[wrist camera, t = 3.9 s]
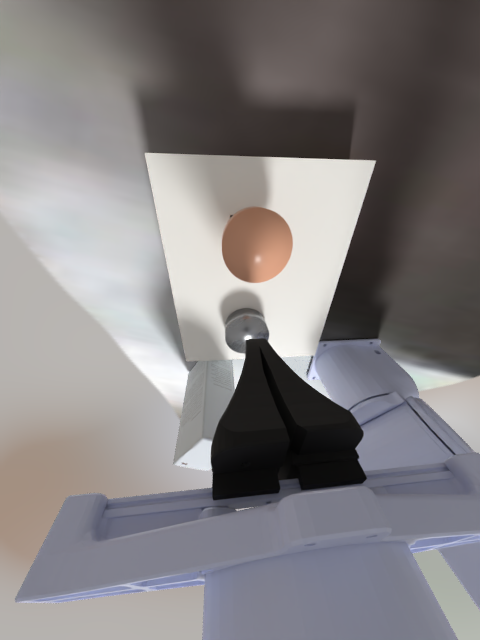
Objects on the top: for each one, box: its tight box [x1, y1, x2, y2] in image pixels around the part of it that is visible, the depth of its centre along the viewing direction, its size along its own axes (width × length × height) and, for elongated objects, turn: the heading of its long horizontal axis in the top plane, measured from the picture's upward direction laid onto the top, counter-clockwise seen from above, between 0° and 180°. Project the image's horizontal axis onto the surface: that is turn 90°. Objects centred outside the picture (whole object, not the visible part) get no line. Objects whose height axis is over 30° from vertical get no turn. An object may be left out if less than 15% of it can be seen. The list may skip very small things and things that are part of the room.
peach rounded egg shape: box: [222, 206, 293, 283], centre depth 14 cm, size 4×4×5 cm
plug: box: [225, 308, 269, 354], centre depth 21 cm, size 4×4×5 cm
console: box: [145, 153, 376, 362], centre depth 20 cm, size 16×19×4 cm
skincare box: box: [173, 360, 235, 471], centre depth 23 cm, size 6×4×12 cm
